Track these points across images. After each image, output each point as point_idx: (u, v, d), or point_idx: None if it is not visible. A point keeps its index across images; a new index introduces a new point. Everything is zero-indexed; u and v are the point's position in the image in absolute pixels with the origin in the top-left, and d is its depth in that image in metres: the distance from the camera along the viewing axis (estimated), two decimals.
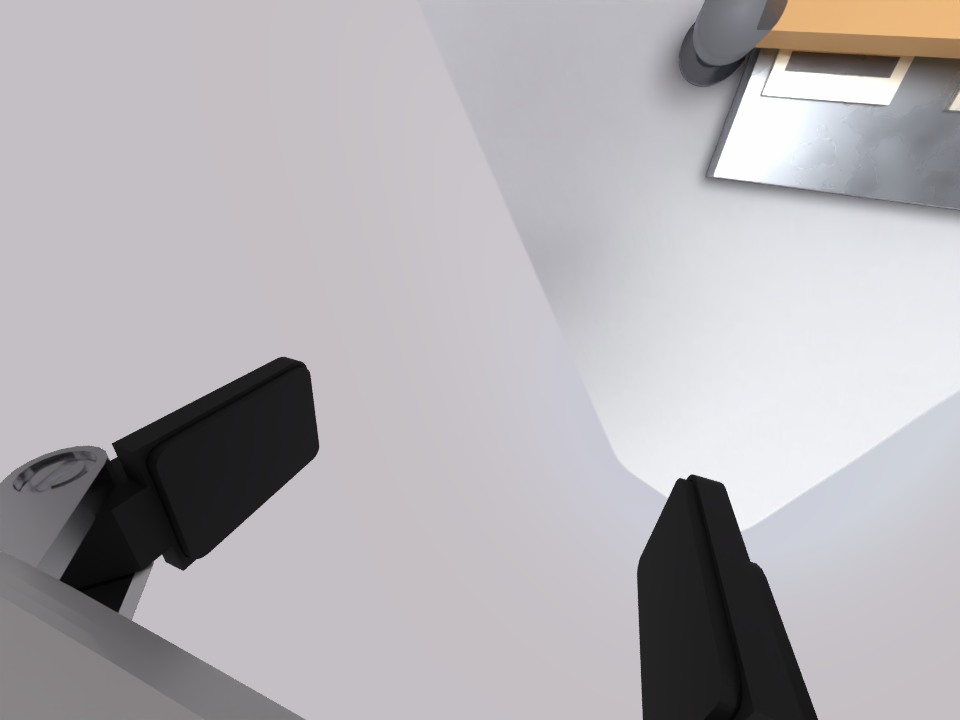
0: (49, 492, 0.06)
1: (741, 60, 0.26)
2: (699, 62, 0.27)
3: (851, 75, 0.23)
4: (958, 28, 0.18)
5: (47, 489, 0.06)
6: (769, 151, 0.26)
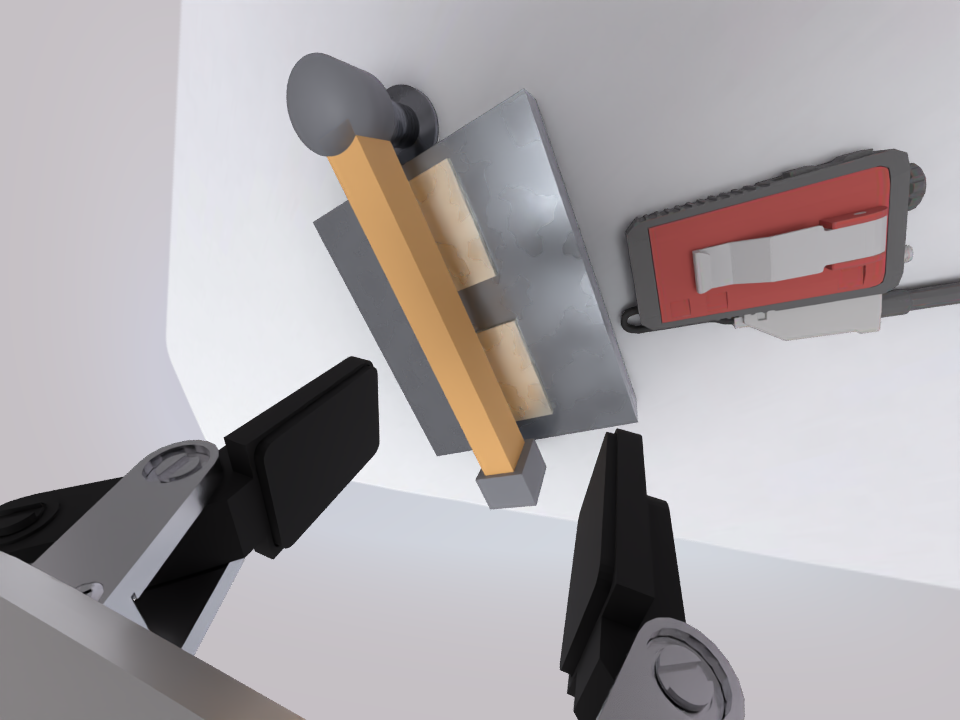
0: (166, 484, 0.06)
1: None
2: None
3: None
4: (406, 304, 0.20)
5: (166, 479, 0.06)
6: (352, 250, 0.26)
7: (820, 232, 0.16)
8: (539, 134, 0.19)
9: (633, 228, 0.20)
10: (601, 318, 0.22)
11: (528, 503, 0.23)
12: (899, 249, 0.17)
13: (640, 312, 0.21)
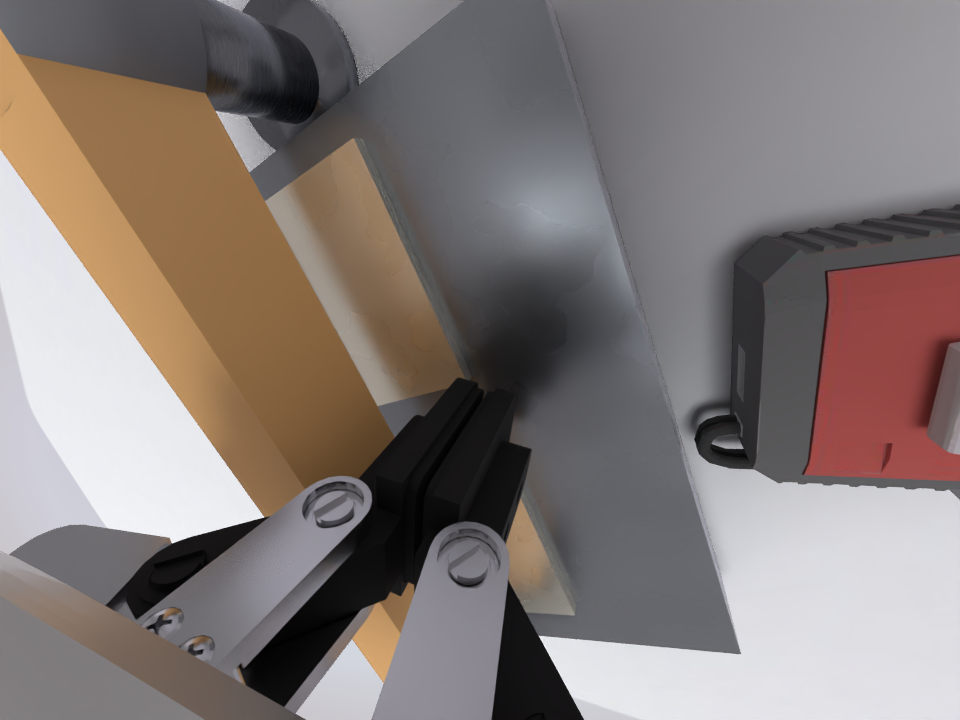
0: (314, 528, 0.06)
1: None
2: None
3: None
4: (246, 480, 0.09)
5: (319, 519, 0.06)
6: None
7: None
8: (567, 77, 0.08)
9: (784, 267, 0.08)
10: (686, 480, 0.10)
11: None
12: None
13: (760, 449, 0.10)
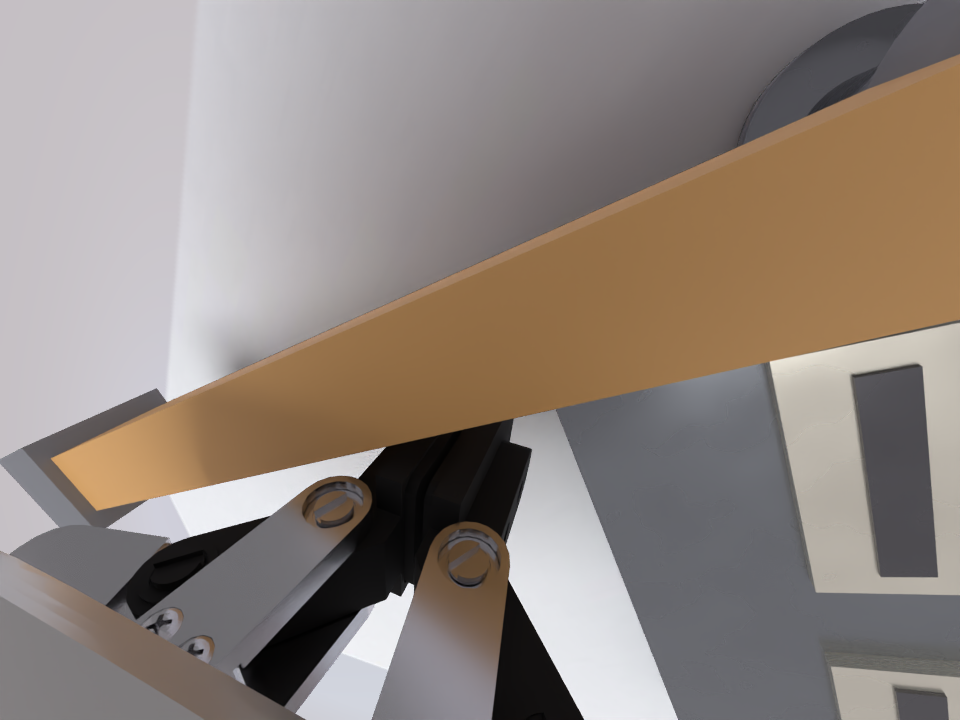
0: (315, 528, 0.06)
1: None
2: None
3: (872, 514, 0.09)
4: (319, 368, 0.06)
5: (319, 519, 0.06)
6: (641, 441, 0.10)
7: None
8: None
9: None
10: None
11: None
12: None
13: None
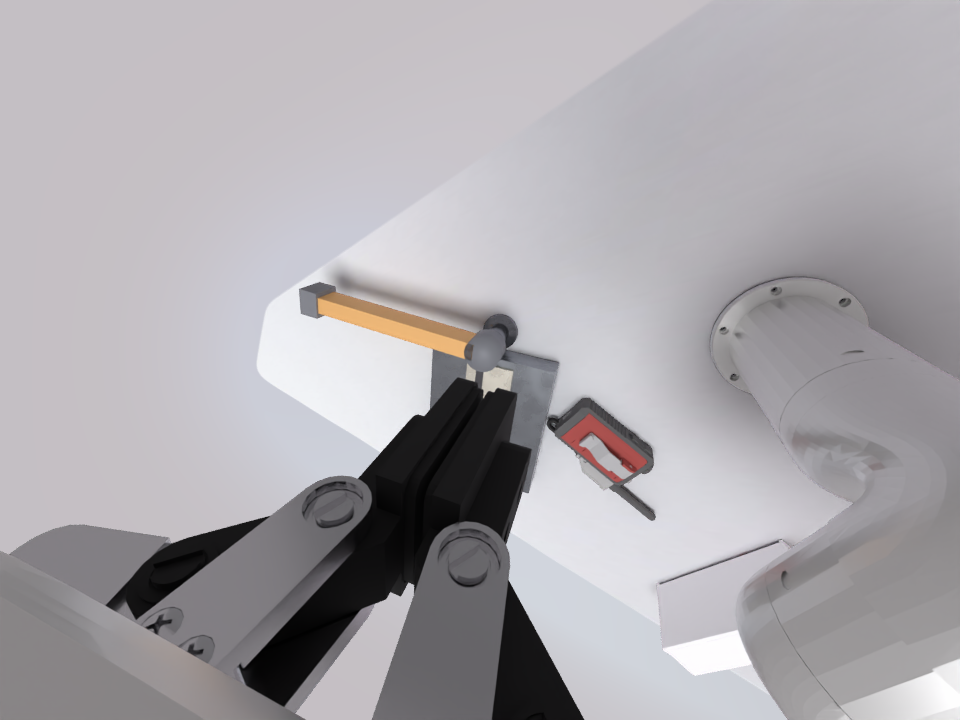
0: (314, 528, 0.06)
1: None
2: (492, 326, 0.47)
3: None
4: (402, 326, 0.43)
5: (319, 519, 0.06)
6: (445, 365, 0.49)
7: (619, 463, 0.46)
8: (552, 388, 0.45)
9: (585, 408, 0.46)
10: (536, 454, 0.50)
11: (302, 311, 0.46)
12: (628, 479, 0.48)
13: (558, 429, 0.48)
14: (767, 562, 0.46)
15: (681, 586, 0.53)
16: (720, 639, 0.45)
